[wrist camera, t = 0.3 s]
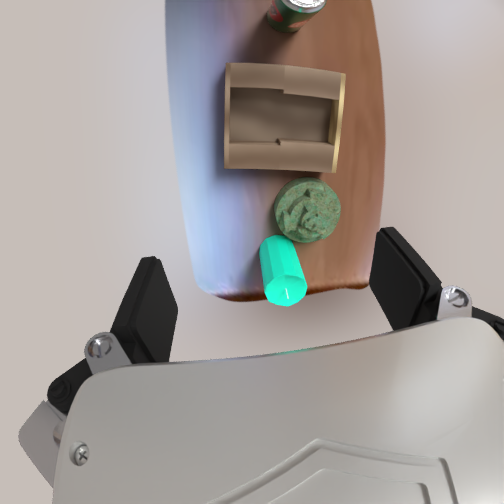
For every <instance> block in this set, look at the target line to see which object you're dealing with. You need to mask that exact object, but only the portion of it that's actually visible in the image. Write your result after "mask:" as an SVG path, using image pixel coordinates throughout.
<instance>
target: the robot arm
mask: <svg viewBox="0 0 504 504" xmlns="http://www.w3.org/2000/svg"><path fill="white" fill-rule="evenodd" d="M441 283H442V282H441V281H440V280H439V278H438V277H437V276H436V275H435V273H434V272H433V271H432V270H431V268H430V267H429V266H428V265H427V264H426V263H425V261H424V260H423V259H422V258H421V257H420V256H419V254H418V253H417V252H416V251H415V250H414V249H413V248H412V246H411V245H410V244H409V243H408V242H407V241H406V240H405V239H404V238H403V236H402V235H401V234H400V233H399V232H398V231H397V230H396V229H395V228H394V227H386V228H381V229H380V231H379V232H377V234H376V241H375V248H374V255H373V261H372V267H371V273H370V279H369V284H370V287H371V290H372V291H373V293H374V295H375V297H376V299H377V300H378V302H379V304H380V306H381V308H382V310H383V312H384V313H385V315H386V317H387V319H388V321H389V323H390V325H391V327H392V329H393V331H391V332H387V333H383V334H379V335H375V336H370V337H365V338H361V339H356V340H351V341H346V342H341V343H336V344H330V345H325V346H319V347H314V348H307V349H301V350H294V351H287V352H281V353H273V354H265V355H256V356H247V357H237V358H226V359H213V360H198V361H182V362H169V357H170V351H171V346H172V341H173V335H174V330H175V324H176V320H177V314H178V307H177V304H176V301H175V298H174V296H173V293H172V291H171V288H170V285H169V282H168V280H167V277H166V274H165V272H164V268H163V266H162V263H161V261H160V259H157V258H156V257H155V256H152V257H144V258H142V259H141V260H140V263H139V265H138V267H137V269H136V271H135V274H134V276H133V278H132V280H131V282H130V285H129V287H128V289H127V291H126V293H125V296H124V298H123V300H122V303H121V305H120V308H119V310H118V312H117V315H116V317H115V320H114V322H113V325H112V328H111V330H110V332H102V333H98V334H96V335H94V336H93V337H92V338H90V340H89V341H88V342H87V344H86V346H85V349H84V353H85V357H86V358H85V359H83V360H82V361H80V362H79V363H78V364H76V365H75V366H73V367H72V368H71V369H69V370H68V371H66V372H65V373H64V374H62V375H61V376H59V377H58V378H56V379H55V380H54V381H53V382H52V383H51V385H50V386H49V389H48V393H47V397H48V401H47V402H45V401H42V402H41V404H40V405H39V406H38V407H37V409H36V410H35V411H34V412H33V413H32V415H31V416H30V417H29V418H28V420H27V421H26V422H25V423H24V425H23V426H22V427H21V429H20V431H19V442H20V445H21V446H22V447H23V449H24V451H25V452H26V454H27V455H28V456H29V458H30V459H31V460H32V462H33V463H34V465H35V466H36V467H37V469H38V470H39V471H40V473H41V474H42V475H43V477H44V478H45V479H46V480H47V481H48V483H49V484H50V485H51V486H52V487H53V502H52V504H504V319H502V318H500V317H498V316H495V315H493V314H490V313H488V312H485V311H483V310H480V309H478V308H475V307H473V306H472V300H471V297H470V295H469V294H468V293H467V292H466V291H465V290H464V289H462V288H460V287H457V286H447V287H445V288H444V289H443V288H442V287H441Z"/></svg>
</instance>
